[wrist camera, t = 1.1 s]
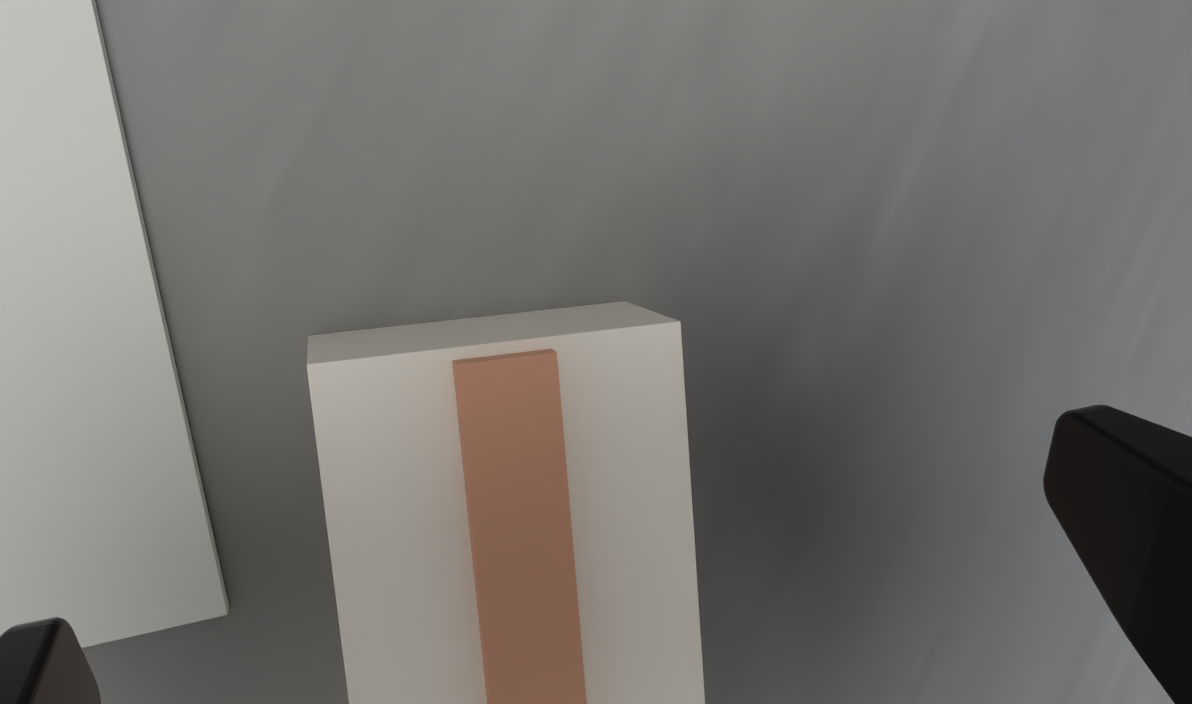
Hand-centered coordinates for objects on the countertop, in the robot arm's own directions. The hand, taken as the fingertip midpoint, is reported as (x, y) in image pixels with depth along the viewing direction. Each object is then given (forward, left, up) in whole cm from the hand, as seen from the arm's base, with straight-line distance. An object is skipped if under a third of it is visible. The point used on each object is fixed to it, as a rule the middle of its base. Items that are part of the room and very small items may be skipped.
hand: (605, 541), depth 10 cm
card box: (-4, 0, -11) cm, 12 cm away
